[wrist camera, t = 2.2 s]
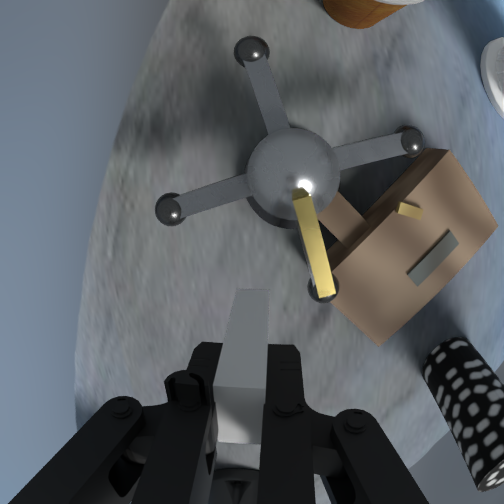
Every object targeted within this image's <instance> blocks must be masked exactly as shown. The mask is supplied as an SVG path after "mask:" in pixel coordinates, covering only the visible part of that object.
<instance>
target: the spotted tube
mask: <svg viewBox="0 0 504 504" xmlns="http://www.w3.org/2000/svg"><path fill="white" fill-rule="evenodd" d="M422 374H423V378H424V380H425V382H426V384H427V386H428V387H429V389H430V391H431V393H432V395H433V397H434V399H435V401H436V403H437V404H438V406H439V408H440V410H441V412H442V414H443V416H444V418H445V420H446V422H447V424H448V426H449V428H450V430H451V432H452V434H453V436H454V439H455V441H456V443H457V445H458V447H459V449H460V451H461V453H462V456H463V458H464V460H465V462H466V464H467V467H468V469H469V471H470V473H471V476H472V478H473V480H474V483H475V485H476V487H477V490H478V491H480V492H484V491H488V490H491V489H494V488H496V487H498V486H500V485H502V484H503V483H504V384H503V383H502V382H501V381H500V379H499V378H498V377H497V375H496V374H495V373H494V371H493V370H492V369H491V368H490V366H489V365H488V364H487V362H486V361H485V360H484V359H483V357H482V356H481V355H480V354H479V352H478V351H477V350H476V349H475V348H474V346H473V345H472V344H471V343H470V341H468V340H467V339H465V338H463V337H455V338H451V339H448V340H446V341H444V342H443V343H441V344H440V345H438V346H437V347H436V348H435V349H434V350H433V351H432V352H431V353H430V355H429V356H428V357H427V359H426V361H425V363H424V366H423V370H422Z"/></svg>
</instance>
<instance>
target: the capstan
mask: <svg viewBox="0 0 504 504" xmlns="http://www.w3.org/2000/svg"><path fill="white" fill-rule="evenodd" d="M269 54H270V50H269V47H268V45H267V43H266V42H265V41H264V40H263V39H261V38H259V37H256V36H247V37H244V38H242V39H241V40H239V41H238V42H237V44H236V45H235V48H234V57H235V59H236V61H237V62H238V63H239V64H240V65H241V66H243V67H246V70H247V73H248V76H249V79H250V81H251V84H252V87H253V90H254V93H255V96H256V99H257V102H258V105H259V108H260V111H261V114H262V116H263V119H264V123H265V126H266V129H267V132H268V136H267V137H265V138H264V139H263V140H262V141H261V142H260V143H259V144H258V145H257V146H256V147H255V149H254V151H253V152H252V154H251V156H250V158H249V159H248V162H247V164H246V167H245V170H244V174H241V175H237V176H234V177H231V178H228V179H225V180H222V181H219V182H216V183H213V184H210V185H207V186H204V187H201V188H198V189H195V190H192V191H189V192H187V193H184V194H181V195H180V194H177V193H166V194H164V195H162V196H161V197H160V198H159V199H158V201H157V202H156V205H155V214H156V217H157V219H158V220H159V221H160V222H161V223H162V224H164V225H167V226H176V225H179V224H180V223H182V222H183V221H184V220H185V218H186V217H187V216H190V215H193V214H196V213H199V212H202V211H205V210H208V209H211V208H214V207H217V206H220V205H223V204H227V203H230V202H233V201H236V200H239V199H243V198H246V197H247V200H248V202H249V204H250V206H251V207H252V209H253V210H254V211H255V212H256V213H257V214H258V215H259V216H260V217H261V218H262V219H263V220H265V221H266V222H268V223H270V224H272V225H274V226H277V227H281V228H286V229H298V233H299V236H300V240H301V243H302V247H303V251H304V254H305V258H306V261H307V265H308V269H309V272H310V276H311V278H310V280H309V282H308V292H309V295H310V296H311V298H312V299H313V300H315V301H316V302H319V303H328V302H330V301H332V300H334V299H335V298H336V296H337V295H338V293H339V289H340V285H339V281H338V279H337V277H336V276H335V275H334V274H333V273H331V270H330V266H329V262H328V258H327V254H326V250H325V246H324V242H323V238H322V234H321V231H320V227H319V223H318V221H319V220H318V219H317V216H316V214H318V213H320V212H321V211H323V210H324V209H325V208H326V207H327V206H328V205H329V204H330V203H331V201H332V200H333V198H334V197H335V195H336V193H337V191H338V192H339V189H340V170H344V169H347V168H351V167H355V166H359V165H363V164H367V163H371V162H375V161H379V160H383V159H387V158H391V157H395V156H399V155H402V156H403V157H407V158H414V157H416V156H418V155H419V154H421V152H422V151H423V149H424V146H425V140H424V136H423V134H422V132H421V131H420V130H419V129H418V128H417V127H415V126H412V125H402V126H400V127H399V128H397V129H396V131H395V132H394V133H393V134H388V135H384V136H379V137H375V138H371V139H367V140H362V141H358V142H354V143H350V144H346V145H342V146H338V147H334V148H331V146H330V145H329V144H328V143H327V142H326V141H325V140H324V139H323V138H322V137H320V136H319V135H317V134H315V133H313V132H311V131H308V130H305V129H300V128H290V125H289V122H288V119H287V116H286V113H285V110H284V107H283V104H282V101H281V98H280V95H279V92H278V89H277V86H276V83H275V81H274V78H273V75H272V72H271V69H270V67H269V64H268V61H267V60H268V58H269Z"/></svg>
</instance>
